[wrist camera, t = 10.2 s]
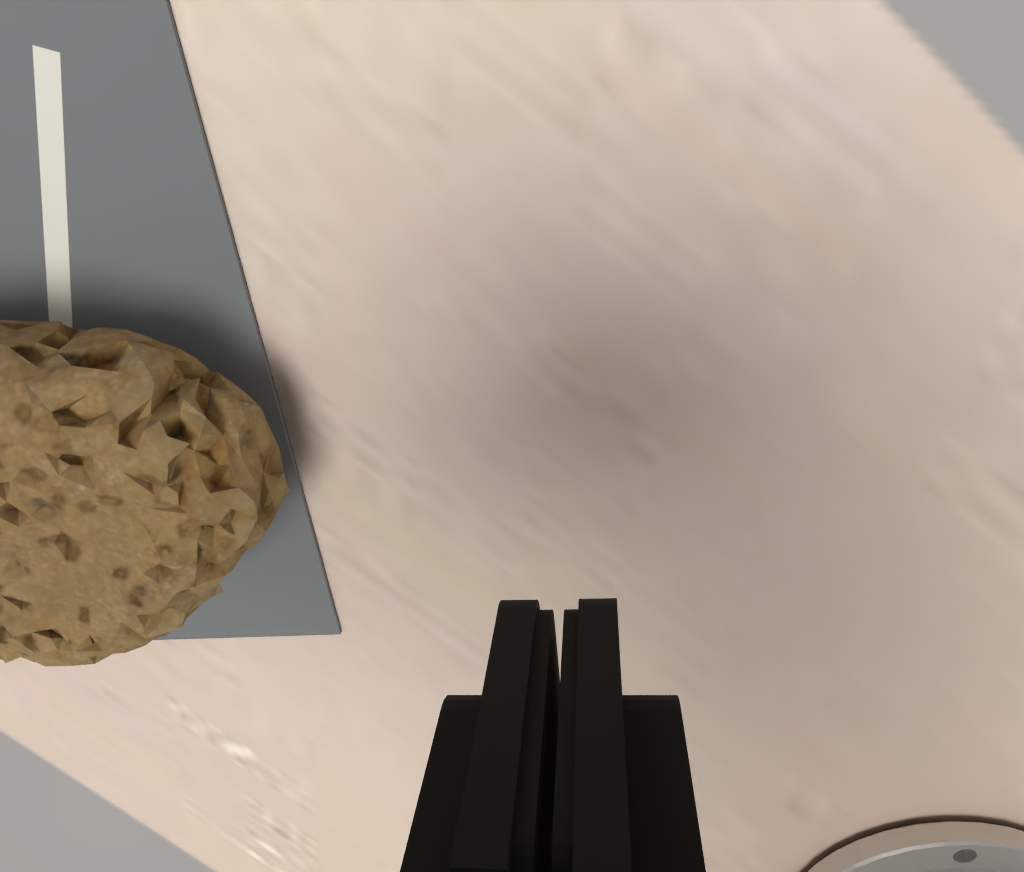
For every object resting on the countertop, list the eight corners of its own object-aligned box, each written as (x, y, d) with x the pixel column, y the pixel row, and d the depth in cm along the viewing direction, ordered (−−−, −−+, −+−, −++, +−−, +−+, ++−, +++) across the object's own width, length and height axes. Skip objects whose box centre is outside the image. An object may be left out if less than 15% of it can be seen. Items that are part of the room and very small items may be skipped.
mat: (341, 631, 26) (340, 634, 26) (0, 641, 28) (-3, 645, 28) (116, -191, 16) (111, -194, 16) (-418, -103, 17) (-427, -104, 17)
